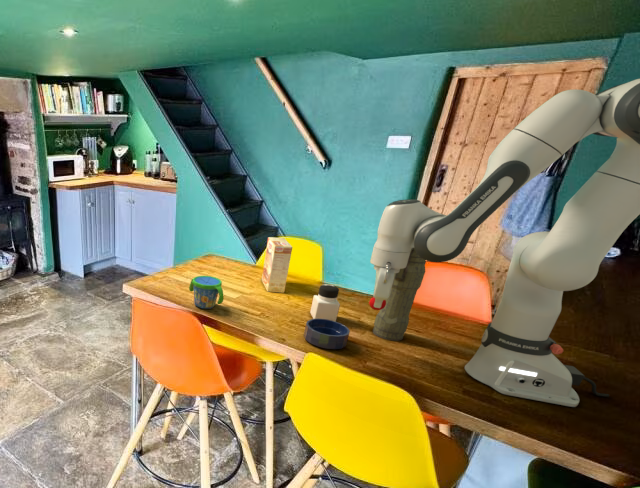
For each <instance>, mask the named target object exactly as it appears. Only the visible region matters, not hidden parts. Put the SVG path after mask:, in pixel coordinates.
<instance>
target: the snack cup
mask: <svg viewBox="0 0 640 488" xmlns="http://www.w3.org/2000/svg"><path fill="white" fill-rule="evenodd" d="M222 284H223V281H222V280H221V279H220V278H218V277H215V276H212V275H198V276H195V277H193V278H191V280H190V283H189V288H188V289H189V292H193V303H194V306H196V307H197V308H200V309H202V310H203V309H204V310H205V309H206V310H210V309H213V308H214V307H215V305H216V302H217V305H221V304H222V303H223V302H224V290H223V288H222Z"/></svg>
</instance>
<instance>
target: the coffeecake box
mask: <svg viewBox="0 0 640 488" xmlns="http://www.w3.org/2000/svg"><path fill="white" fill-rule="evenodd" d="M292 252H293V246H292V245H291V243H289V242H288V241H287V239H286V238H285V237H276V236H275V237H274V236H269V237H267V242H266V248H265V256H264V262H263V267H262V275H261V282H262V284H263V286H264V288H265V290H266V291H267V292H269V293H285V291H286V285H287V280H288V279H287V278H288V274H289V269H290V262H291V258H292V257H291V256H292Z"/></svg>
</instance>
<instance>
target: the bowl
mask: <svg viewBox="0 0 640 488" xmlns="http://www.w3.org/2000/svg"><path fill="white" fill-rule="evenodd" d="M350 332H351V331H350V329H349V327H348V326H346V325H344V324H343V323H341V322H338V321H336V322H335V321H332V320H327V319H313V318H311V319H308V320H307V321H306V323H305V327H304V332H303V338H304V340H305V341H307V342H308V343H309V344H312V345H313V346H316V347H318V348H322V349H326V350H341V349H344V348H345V347H347V343H348V340H349V336H350Z"/></svg>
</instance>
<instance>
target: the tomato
mask: <svg viewBox="0 0 640 488" xmlns="http://www.w3.org/2000/svg"><path fill="white" fill-rule="evenodd" d="M368 301H369V302H368V305H369V307H370V308H371V309H372V310H374V311H380V310H381V309H383V308H384V307H385V305H386V301H385V300H383V302H382V305H381V308H375V307H374V303H375V298H374V297H373V296H372V297H371V298H370V299H369V300H368Z"/></svg>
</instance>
